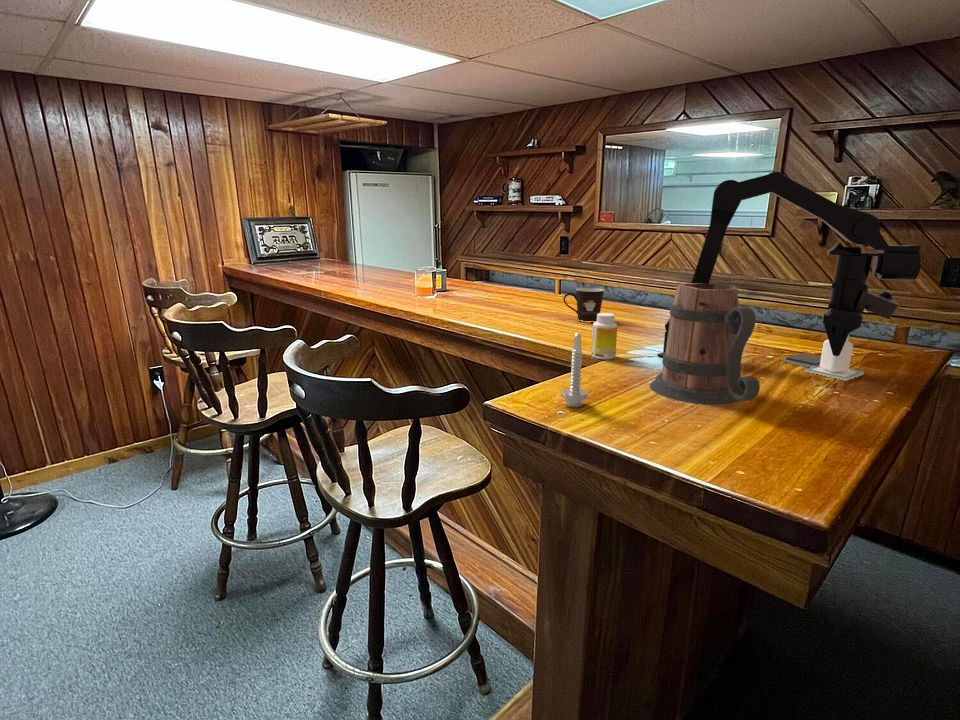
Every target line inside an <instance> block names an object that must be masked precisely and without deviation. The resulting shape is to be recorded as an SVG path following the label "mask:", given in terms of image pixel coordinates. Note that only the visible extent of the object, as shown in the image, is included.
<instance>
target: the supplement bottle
mask: <svg viewBox="0 0 960 720" xmlns="http://www.w3.org/2000/svg"><path fill="white" fill-rule="evenodd" d="M615 316H616V315H615V314H614V313H611V312H609V313H608V312H600V313H599V314H597V321H596V322H594V323H592V335H591V336H592V337H591V338H592V339H591V356H592V357H593V358H595V359H597V360H612V359H615V358H616V353H617V341H618V340H617V337H618V323H616V322H615Z"/></svg>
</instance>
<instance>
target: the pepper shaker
mask: <svg viewBox="0 0 960 720" xmlns="http://www.w3.org/2000/svg"><path fill="white" fill-rule="evenodd" d="M850 334H851V332H850V333H849V335H848V337H847V339H846V342H845V344H844V346H843V348H842V351H841V353H840V355H839V356H834V355H833V354H832V350H831V347H830V343H829V340H828V339H826V340H824V341H823V345H822V351H821V355H820V357H821V361H820V368H822V369H825V370H828V371H831V372H846V371H848V370H849V369H850V364H851V359H852V354H853V349H854V344H853V343H852V342H851V341H849V337H850Z"/></svg>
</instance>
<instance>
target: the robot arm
mask: <svg viewBox="0 0 960 720" xmlns="http://www.w3.org/2000/svg"><path fill="white" fill-rule="evenodd" d="M766 194H773V195H775V196H776V197H779V198H780V199H783V200H784V201H785V202H787V203H790V204H791V205H793V206H795V207H797V208H798V209H800V210H803V211H805V213H808V214H810V215H811V216H813V217H816V218H817V219H819V220H821V221H822V222H823V223H824V224H826V225H827V226H828V227H829V228H830V229H831V230H832V231H834V233H836V234H837V235H838V236H840V237H841V238H842V239H843V240H844V241H846V242H847V243H851V244H855V245H862V246H864V247H865V248H867V249H870V250H871V249H872V250H875V251H878V252H873V251H871V252H870V251H869V252H868V251H866V252H865V251H864V252H863V251H862V249H861V246H844V245H843V244H842V242H837V243H835V244H834V246H832V247H831V248H830V249H828V250H827V251H826V254H828V255H832V256H837V257H836V264H835V269H834V274H833V280H832V283H831V292H830V295H829V302H828V306H827V310H826V311H825V312H824V313H823V318H822V324H823V326H824V328H825V333H826V337H827V338H828V339H827V340H829V343H830V347H831V350H832V354H833V355H834V356H839V355H840V353H841V351H842V348H843V346H844V344H845V342H846V339H847V337H848V335H849V336H850V334H851V333H852V332H854V331H856V330H858V329H859V328H861V327H862V324H863V323H862V322H863V317H864V316H863V315H864V314H863V312H864V311H865V310H867V311H869V312H871V313H874V314H877V315H879V316H881V317H882V318H884V319H886V320H890V319H891V318H892V316H893V315H894V313H895V312H896V311H897V309H898V308H899V307H900V303H899V302H898V301H897V300H893V294H892V292H889V291H887V290H883V291H882V292H880V293H878V294H877V293H876V292H871V291H870V290H869V284H868V282H869V281H868V280H869V276H870V270H871V273H872V274H873V275H876V276H877V277H876V278H877V280H887V281H888V280H891V281H910V282H913V281H916V279H917V278H918V277H919V274H920V271H921V267H922V263H921V253H920V251H921V245H919V244H906V245H896V244H895V245H893V244H891V245H889V243H888V242H887V240H886V239H885V237H884V236H883V235H882V233H881V229H882V227H881V221H880V219H879V218H878V217H877V216H875V215H873V214H872V213H868V212H865V211H862V210H858V209H855V208H852V207H848V206H844V205H841V204H838V203H836V202H834V201H832V200H831V199H829V198H827V197H825V196H824V195H823V196H822V195H821V194H819V193H817V192H815V191H813V190H812V189H809V188H807V187H806V186H804V185H802V184H801V183H798V182H796V181H795V180H794V179H793V180H792V179H791V178H789V177H787V176H786V175H785V174H784V173H782V172H781V171H772V172H769V173H768V174H765V175H761V176H760V175H759V176H757V177H753V178H749V179H745V180H741V181H737V180H734V179H726V180H724V181H722V182H720V183H719V184H717V186H716V187H715V189H714V192H713V196H712V204H711V211H710V222H709V226H708V230H707V233H706V236H705V238H704V242H703V245H702V247H701V251H700V253H699V254H700V255H699V257H698V261H697V263H696V264H697V265H696V267H695V270H694V273H693V276H692V279H691V283H704V284H710V281H711V278H712V275H713V273H714V270H715V269H714V268H715V266H716V263H717V260H718V256H719V253H720V250H721V248H722V244H723V242H724V239H725V236H726V232H727V229H728V227H729V225H730V222H731V221H732V219H733V217H734V216H735V214H736V212H737V210H738V208H739V206H740V204H741V202H742V201H744V200H748V199H752V198H756V197H759V196H763V195H766ZM872 260H873V261H872ZM669 322H670V317H669V319H668V320H667V321H666V323H665V325H664V328H665V329H664V330H665V331H664V339H663V351H662V352H661V353H660V352H659V353H657V355H656V356H657V357H660V358H663V354H664V353H665V351H666V344H667V337H668V330H669ZM849 333H850V334H849Z"/></svg>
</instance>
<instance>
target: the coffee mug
mask: <svg viewBox="0 0 960 720" xmlns="http://www.w3.org/2000/svg"><path fill="white" fill-rule="evenodd" d="M604 292H605V290H604V288H597V287H581V288H578V287H577V288H576V289H575V293H571V292H569V293H566V294H565V295H563V302H564V305H566V306H567V307H568V308H569V309H570V310H572V311H574V312H575V313H576V315H577V320H578V319H579V320H583V321H597V314H599V313H601V310H602V304H603V298H604ZM568 296H573V298H574V300H575V301H576V309H575V308H573V307H572V306H570V305H569V304H568V303H567V301H566V298H567V297H568Z"/></svg>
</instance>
